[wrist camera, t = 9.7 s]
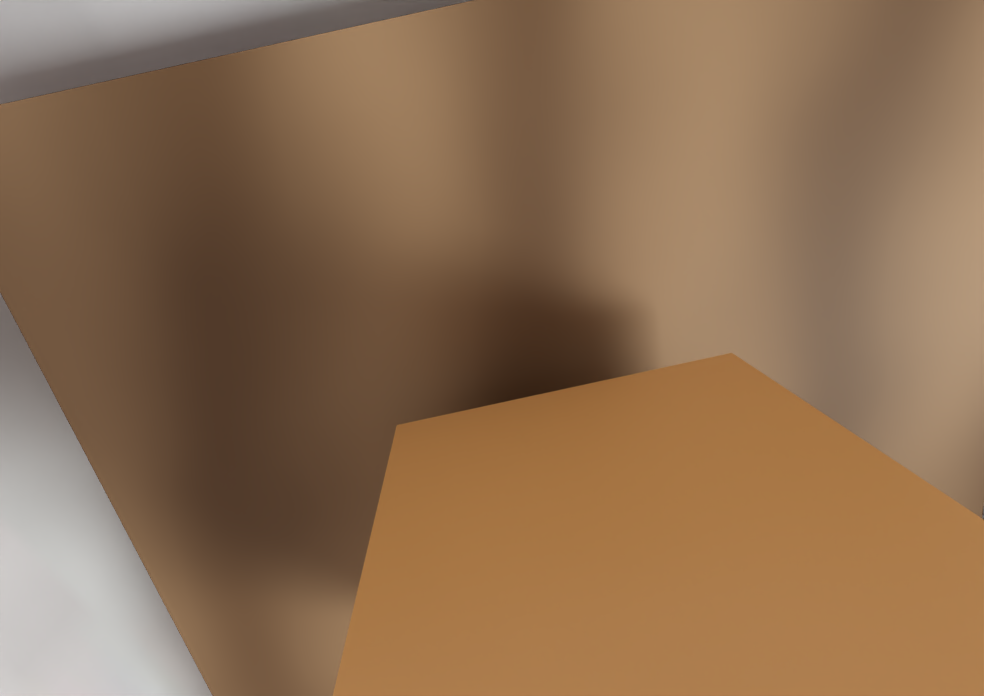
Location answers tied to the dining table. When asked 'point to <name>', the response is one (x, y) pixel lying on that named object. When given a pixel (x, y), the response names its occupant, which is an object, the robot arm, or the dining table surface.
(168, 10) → the dining table surface
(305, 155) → the board
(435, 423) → the solid orange cube
